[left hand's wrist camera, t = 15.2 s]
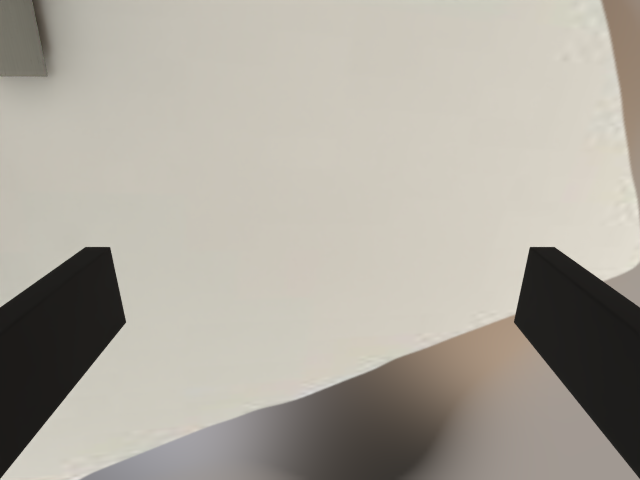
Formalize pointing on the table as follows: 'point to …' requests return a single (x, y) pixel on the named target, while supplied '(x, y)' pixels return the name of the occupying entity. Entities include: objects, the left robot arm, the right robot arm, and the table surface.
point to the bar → (20, 40)
